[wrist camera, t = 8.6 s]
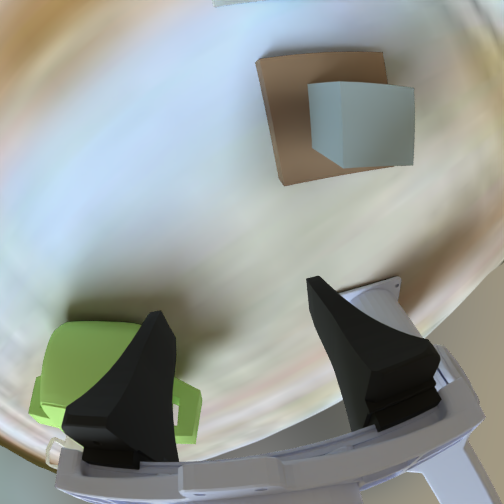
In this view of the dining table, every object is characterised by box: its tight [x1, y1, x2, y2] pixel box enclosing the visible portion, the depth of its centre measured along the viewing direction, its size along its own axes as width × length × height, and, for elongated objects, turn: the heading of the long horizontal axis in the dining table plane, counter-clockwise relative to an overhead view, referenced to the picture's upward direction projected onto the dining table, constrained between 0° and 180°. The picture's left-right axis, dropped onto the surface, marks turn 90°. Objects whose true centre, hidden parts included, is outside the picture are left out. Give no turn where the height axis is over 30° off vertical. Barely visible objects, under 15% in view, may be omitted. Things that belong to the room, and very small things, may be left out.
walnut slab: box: [255, 52, 394, 186], centre depth 18 cm, size 9×9×2 cm
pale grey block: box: [307, 81, 415, 168], centre depth 15 cm, size 4×4×6 cm
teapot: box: [29, 321, 202, 449], centre depth 25 cm, size 18×20×13 cm
